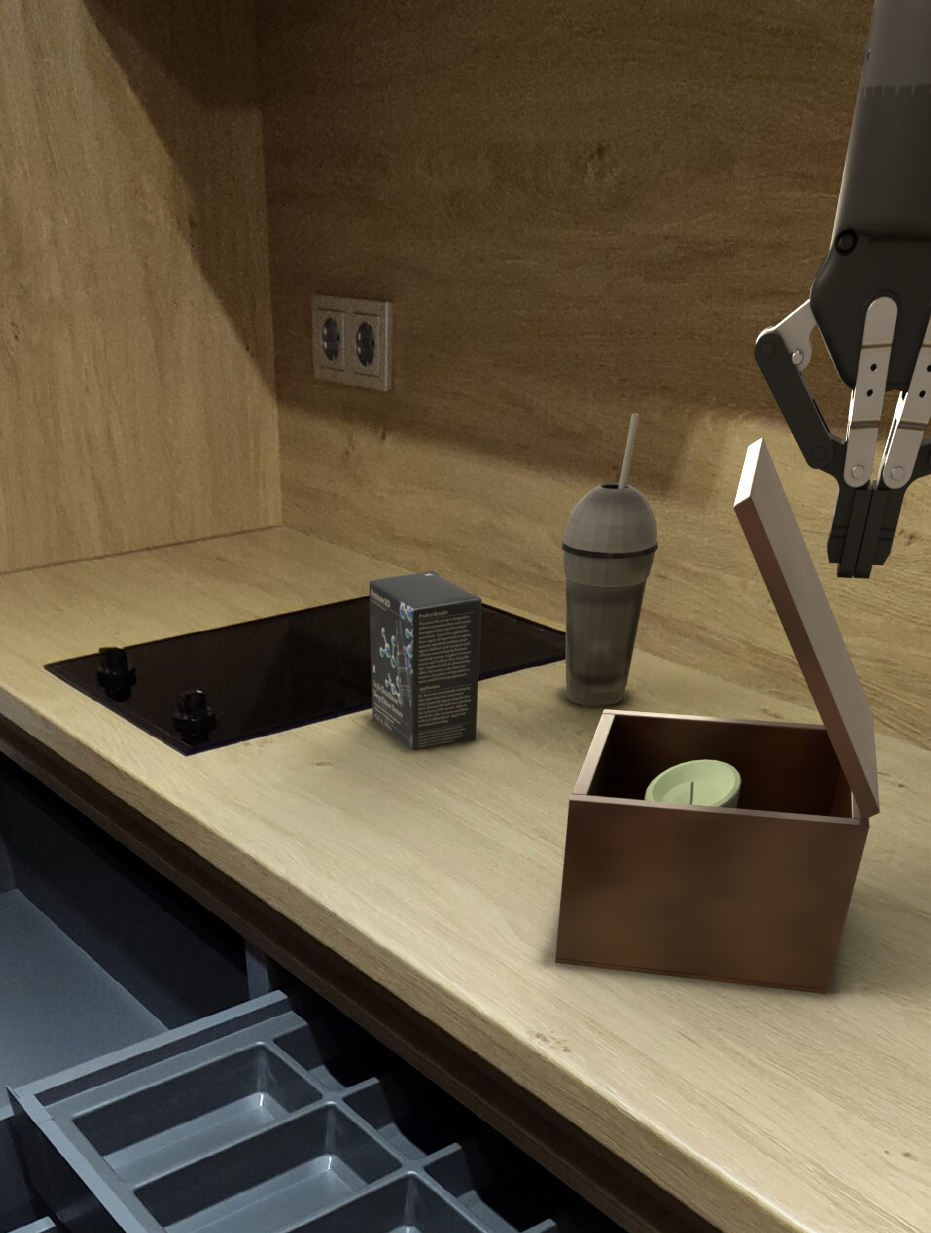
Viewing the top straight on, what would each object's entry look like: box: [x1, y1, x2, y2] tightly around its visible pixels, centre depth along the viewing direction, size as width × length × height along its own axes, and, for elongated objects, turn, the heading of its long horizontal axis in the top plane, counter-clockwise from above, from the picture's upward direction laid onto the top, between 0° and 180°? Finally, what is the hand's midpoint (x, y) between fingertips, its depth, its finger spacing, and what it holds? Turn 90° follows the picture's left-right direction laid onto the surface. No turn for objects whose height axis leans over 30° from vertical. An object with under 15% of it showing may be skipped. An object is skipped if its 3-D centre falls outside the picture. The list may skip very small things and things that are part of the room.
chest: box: [554, 708, 871, 995], centre depth 69 cm, size 15×14×10 cm
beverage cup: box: [560, 413, 659, 707], centre depth 95 cm, size 7×7×20 cm
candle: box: [645, 760, 741, 808], centre depth 70 cm, size 5×5×8 cm
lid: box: [733, 437, 881, 820], centre depth 61 cm, size 16×14×1 cm
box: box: [369, 570, 483, 751], centre depth 93 cm, size 8×6×11 cm
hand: (853, 573), depth 59 cm, fingers closed
